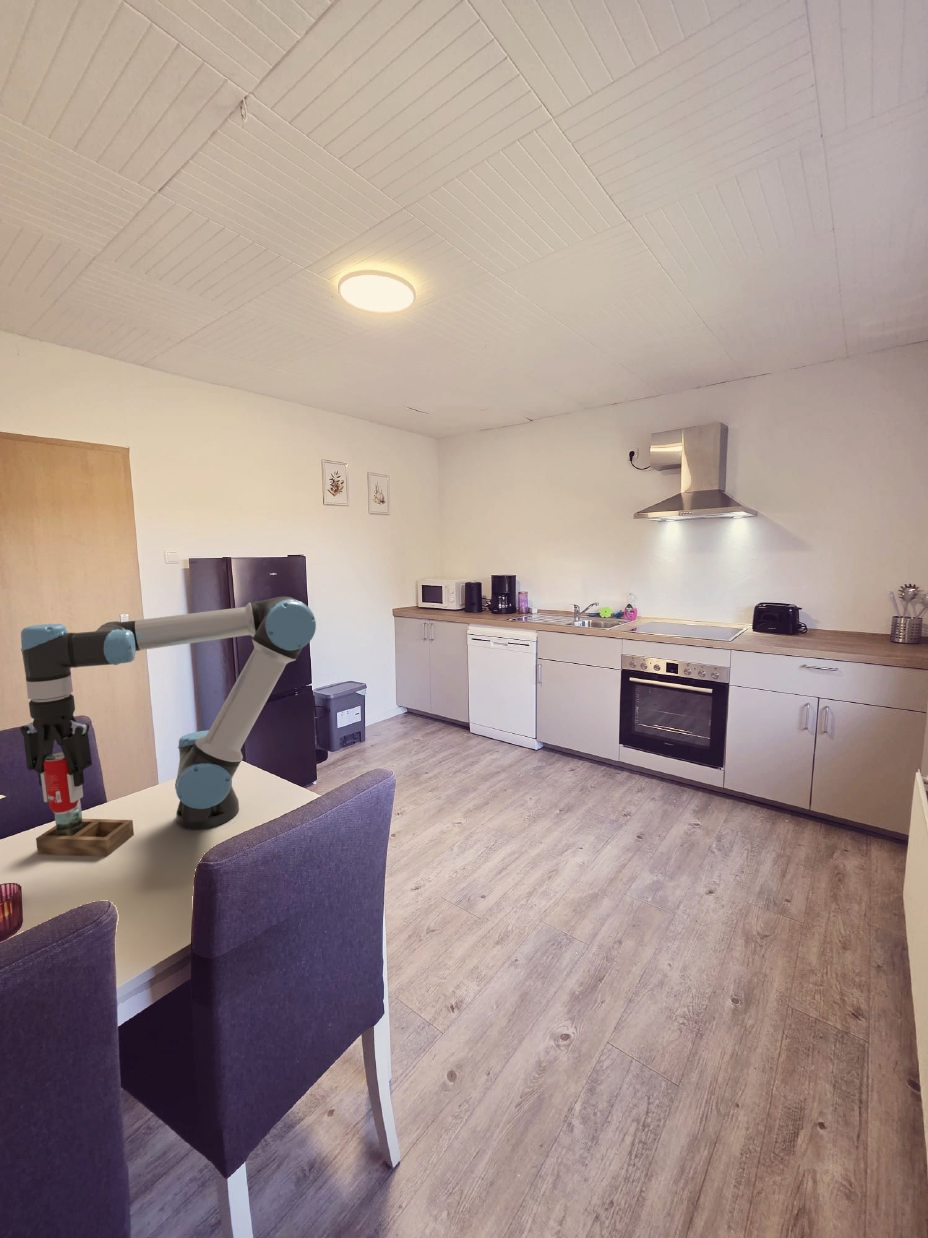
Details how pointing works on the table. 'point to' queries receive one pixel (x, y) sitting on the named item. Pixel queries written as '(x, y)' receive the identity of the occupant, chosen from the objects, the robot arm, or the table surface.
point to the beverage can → (58, 783)
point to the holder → (87, 838)
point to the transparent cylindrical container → (69, 821)
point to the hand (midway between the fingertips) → (63, 799)
